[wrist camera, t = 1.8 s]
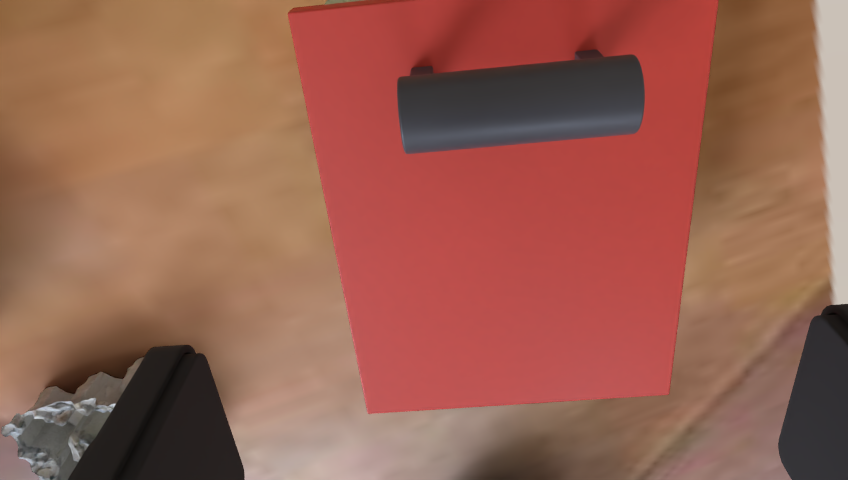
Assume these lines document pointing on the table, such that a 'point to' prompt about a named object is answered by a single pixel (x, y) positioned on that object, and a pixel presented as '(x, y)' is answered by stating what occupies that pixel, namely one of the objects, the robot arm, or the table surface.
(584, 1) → the lid
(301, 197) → the table surface
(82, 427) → the egg carton
